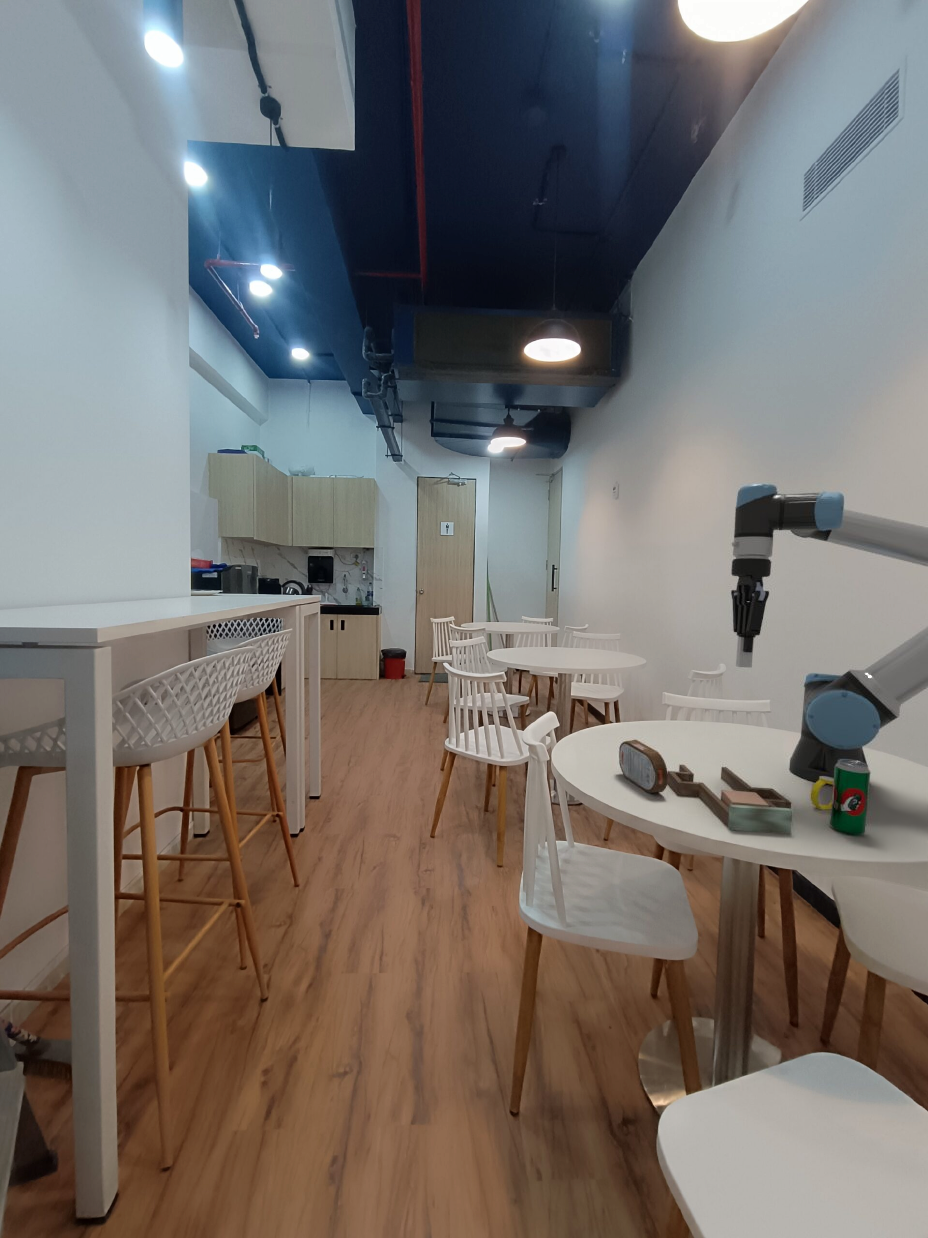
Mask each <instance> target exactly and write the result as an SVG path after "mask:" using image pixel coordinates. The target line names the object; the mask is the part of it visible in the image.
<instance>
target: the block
mask: <svg viewBox="0 0 928 1238" xmlns="http://www.w3.org/2000/svg"><path fill="white" fill-rule="evenodd" d="M720 791H721V792H720V793H721V794H720V800H721V801H722V802H723V803H724V804H726V805H727V806H728V807H729V806H730V805H743V806H759V807H769V805H768V804H767V803H766V802H765V801H764V800H763V799H762V798H761V797H760V796H759V795H758V794H757V793H755V792H743V791H735V790H733V789H732V790H731V789H730V790H729V789H721V790H720Z"/></svg>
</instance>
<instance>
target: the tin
mask: <svg viewBox="0 0 928 1238" xmlns="http://www.w3.org/2000/svg"><path fill="white" fill-rule="evenodd" d="M618 748H619V749H618V750H619V751H618V757H619V760H618V762H619V763H618V764H619V767H620V770H621V773H622V774H623V775H624V776H623V777H625V778H626V779H627V780H629V781H630V782H631V783H632V784H635V785H636V786H637V787H638V788H639V789H641V790H642V791H644V792H646V793H648V794H653V793H662V792H664V791H665V790H666V788H667V787H668V768H667V764H666V762H665V759H664V758H663V756H662V755H661V754H660V752H659V751H657V750H655V749H653V748H652V747H650V746H648V745H647V744H645V743H643V742H641V741H639V740H637V739H631V740H626V741H622V742H621V743H620V746H619V747H618Z"/></svg>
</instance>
